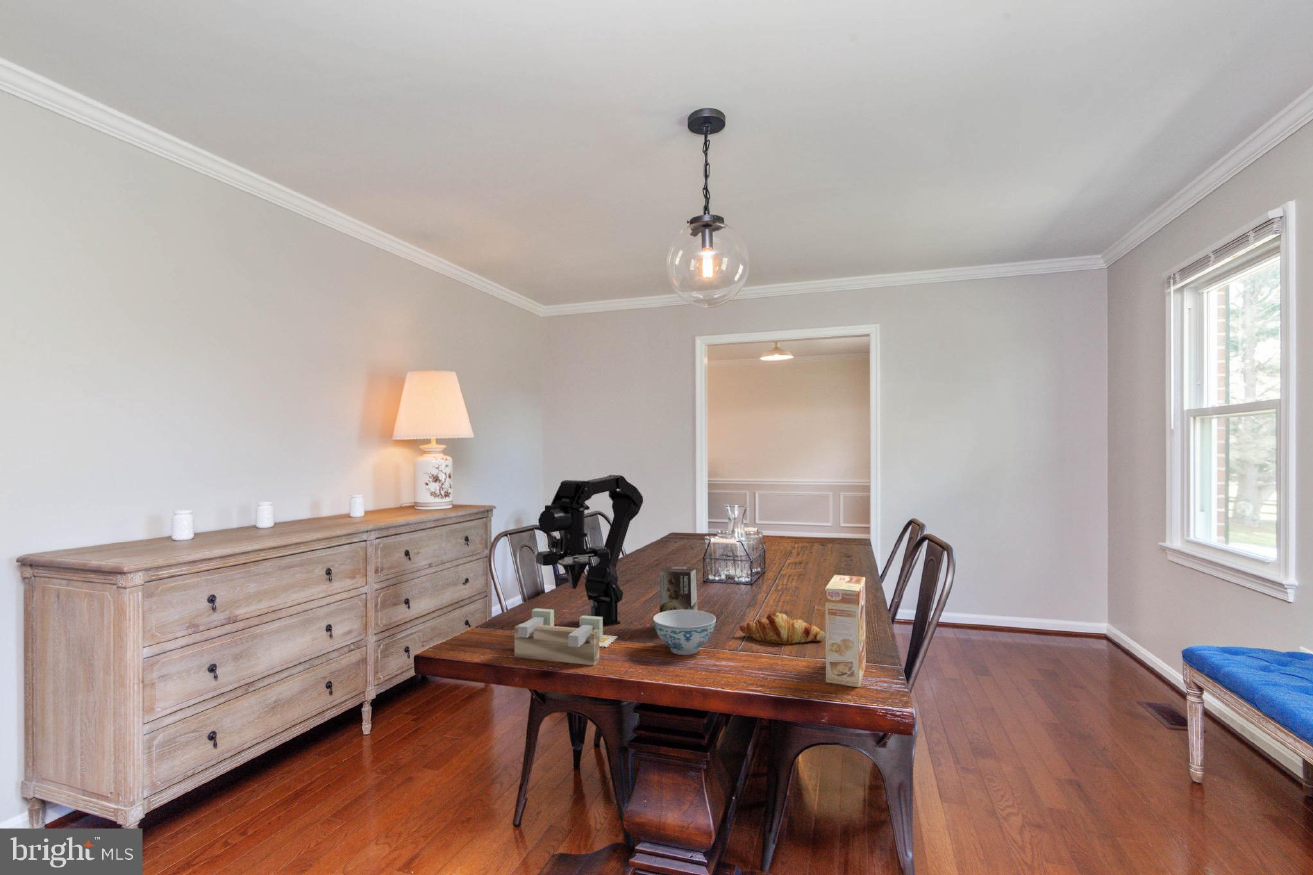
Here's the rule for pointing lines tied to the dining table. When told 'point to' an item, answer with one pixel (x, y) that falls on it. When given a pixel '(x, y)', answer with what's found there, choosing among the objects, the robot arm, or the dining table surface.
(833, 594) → the coffeecake box
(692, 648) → the chinaware
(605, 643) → the card
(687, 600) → the coffee box
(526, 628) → the button
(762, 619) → the croissant
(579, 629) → the button
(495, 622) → the dining table surface
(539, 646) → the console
